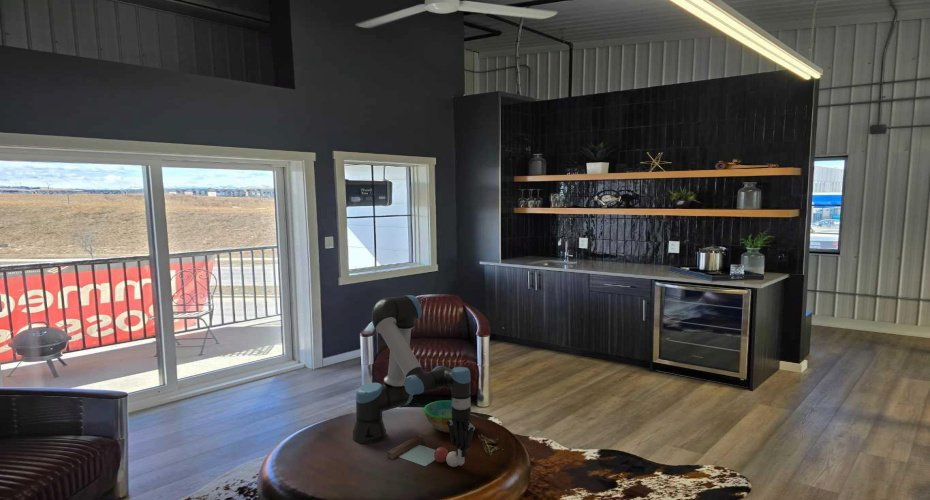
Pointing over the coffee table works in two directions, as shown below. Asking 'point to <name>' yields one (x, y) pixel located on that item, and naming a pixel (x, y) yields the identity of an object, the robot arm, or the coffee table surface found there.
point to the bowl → (439, 414)
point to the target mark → (419, 455)
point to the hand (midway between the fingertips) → (461, 463)
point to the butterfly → (489, 447)
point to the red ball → (440, 454)
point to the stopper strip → (404, 447)
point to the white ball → (452, 459)
